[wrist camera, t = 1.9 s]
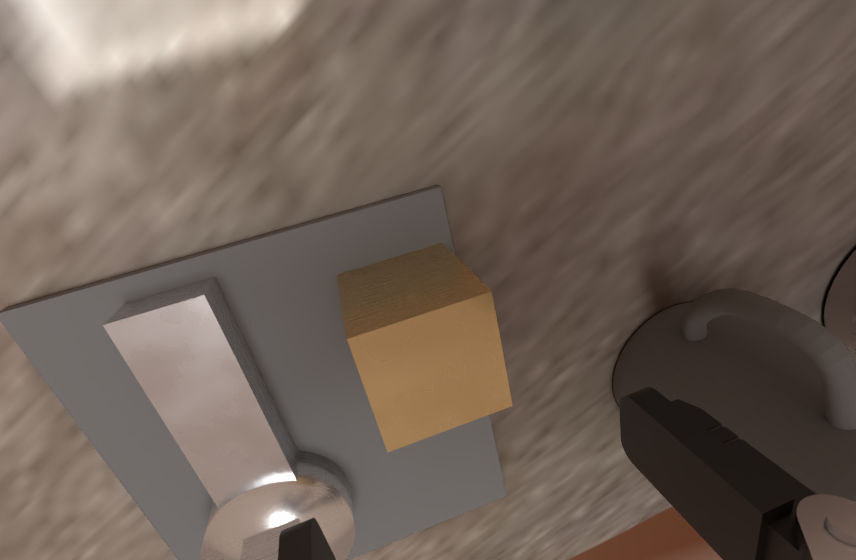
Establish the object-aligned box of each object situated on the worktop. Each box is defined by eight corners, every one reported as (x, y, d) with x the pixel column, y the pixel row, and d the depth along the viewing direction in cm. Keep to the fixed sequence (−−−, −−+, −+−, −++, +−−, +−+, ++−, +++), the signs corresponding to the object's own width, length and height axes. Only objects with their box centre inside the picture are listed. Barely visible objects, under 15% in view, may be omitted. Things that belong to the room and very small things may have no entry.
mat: (437, 184, 19) (440, 186, 19) (502, 488, 27) (506, 495, 27) (6, 307, 17) (-5, 314, 16) (219, 602, 25) (217, 613, 24)
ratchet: (256, 264, 18) (235, 322, 13) (366, 521, 25) (379, 624, 20) (80, 316, 17) (-17, 400, 12) (244, 569, 24) (226, 690, 19)
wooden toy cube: (441, 242, 20) (491, 291, 14) (462, 333, 22) (512, 406, 16) (336, 275, 19) (347, 339, 13) (367, 365, 21) (387, 452, 16)
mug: (740, 374, 29) (992, 526, 18) (630, 444, 29) (820, 641, 18) (705, 206, 23) (1043, 285, 13) (566, 293, 23) (789, 449, 12)
